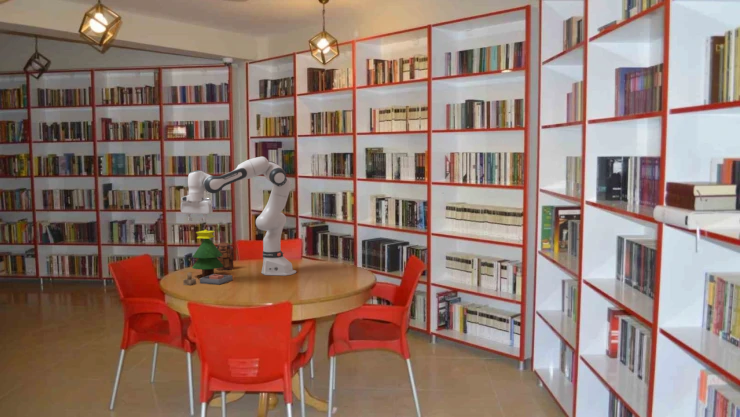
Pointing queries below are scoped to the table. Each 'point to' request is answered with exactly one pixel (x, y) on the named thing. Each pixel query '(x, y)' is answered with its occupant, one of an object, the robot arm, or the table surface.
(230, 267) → the wooden figurine
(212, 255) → the decorative tree
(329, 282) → the table surface
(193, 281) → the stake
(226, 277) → the tray
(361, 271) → the table surface
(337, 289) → the table surface
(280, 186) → the robot arm
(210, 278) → the ring
